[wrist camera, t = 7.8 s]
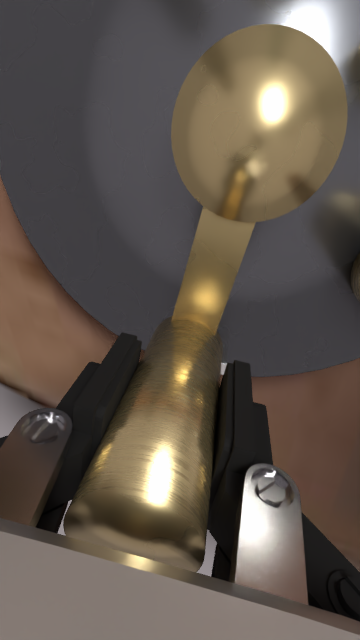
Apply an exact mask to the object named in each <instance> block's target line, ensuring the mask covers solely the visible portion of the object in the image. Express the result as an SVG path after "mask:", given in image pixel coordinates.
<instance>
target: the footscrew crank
mask: <svg viewBox="0 0 360 640" xmlns="http://www.w3.org/2000/svg"><path fill="white" fill-rule="evenodd" d="M346 127H347V98H346V91H345V87H344V83H343V80H342V77H341V75H340V72H339V70H338V68H337V66H336V64H335V63H334V61H333V59H332V58H331V56H330V55H329V54H328V52H327V51H326V50H325V49H324V48H323V46H321V45H320V44H319V43H318V42H317V41H316V40H314V39H313V38H312V37H310V36H309V35H307V34H305V33H304V32H302V31H299V30H297V29H294V28H291V27H288V26H283V25H278V24H262V25H255V26H250V27H246V28H243V29H240V30H237V31H235V32H233V33H231V34H229V35H227V36H225V37H224V38H222V39H221V40H219V41H218V42H216V43H215V44H214V45H213V46H212V47H210V48H209V49H208V50H207V51H206V52H205V53H204V54H203V55H202V56H201V57H200V58H199V60H198V61H197V62H196V63H195V65H194V66H193V67H192V69H191V70H190V72H189V73H188V75H187V77H186V79H185V81H184V82H183V84H182V86H181V89H180V91H179V94H178V97H177V100H176V103H175V107H174V111H173V117H172V125H171V142H172V151H173V156H174V161H175V164H176V167H177V170H178V173H179V175H180V177H181V179H182V181H183V183H184V185H185V186H186V188H187V189H188V191H189V192H190V193H191V194H192V196H193V197H194V198H195V199H196V200H197V201H198V202H199V203H200V204H201V205H202V206H203V209H202V213H201V216H200V220H199V223H198V227H197V230H196V234H195V238H194V241H193V245H192V248H191V252H190V255H189V259H188V262H187V266H186V270H185V273H184V277H183V280H182V284H181V287H180V291H179V295H178V298H177V302H176V305H175V309H174V312H173V316H171V317H169V318H167V319H165V320H164V321H162V322H161V323H160V324H159V325H158V326H157V328H156V329H155V331H154V333H153V335H152V338H151V340H150V342H149V344H148V346H147V348H146V350H145V352H144V354H143V356H142V358H141V360H140V362H139V364H138V366H137V368H136V370H135V372H134V374H133V377H132V379H131V381H130V383H129V385H128V387H127V389H126V391H125V393H124V395H123V397H122V399H121V401H120V403H119V405H118V407H117V409H116V412H115V414H114V416H113V418H112V420H111V422H110V424H109V426H108V428H107V430H106V432H105V434H104V436H103V438H102V440H101V442H100V444H99V446H98V448H97V450H96V452H95V455H94V457H93V459H92V461H91V463H90V465H89V467H88V469H87V471H86V473H85V475H84V477H83V479H82V481H81V483H80V485H79V487H78V489H77V491H76V494H75V496H74V498H73V500H72V502H71V504H70V506H69V508H68V510H67V512H66V514H65V517H64V524H63V526H64V532H65V534H66V536H68V537H71V538H75V539H78V540H82V541H86V542H89V543H93V544H96V545H100V546H103V547H107V548H111V549H114V550H118V551H121V552H125V553H129V554H132V555H136V556H139V557H143V558H146V559H150V560H153V561H157V562H161V563H164V564H168V565H171V566H175V567H178V568H182V569H185V570H189V571H192V572H197V571H198V570H199V569H200V567H201V566H202V564H203V561H204V555H205V545H206V534H207V523H208V512H209V500H210V489H211V477H212V466H213V455H214V443H215V432H216V420H217V409H218V398H219V386H220V375H221V363H222V352H223V344H222V340H221V337H220V335H219V333H218V331H217V328H218V325H219V323H220V320H221V317H222V314H223V312H224V309H225V306H226V303H227V301H228V298H229V295H230V292H231V290H232V287H233V284H234V281H235V278H236V276H237V273H238V270H239V267H240V265H241V262H242V259H243V256H244V254H245V251H246V248H247V245H248V242H249V240H250V237H251V234H252V231H253V229H254V226H255V223H256V222H261V221H266V220H270V219H274V218H277V217H280V216H282V215H284V214H286V213H289V212H290V211H292V210H294V209H295V208H297V207H299V206H300V205H301V204H303V203H304V202H305V201H307V200H308V199H309V198H310V197H311V196H312V195H313V194H314V193H315V192H316V191H317V190H318V189H319V188H320V186H321V185H322V184H323V183H324V182H325V180H326V179H327V177H328V176H329V174H330V173H331V171H332V169H333V167H334V165H335V163H336V161H337V159H338V157H339V154H340V151H341V149H342V146H343V142H344V138H345V134H346Z"/></svg>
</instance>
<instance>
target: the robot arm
mask: <svg viewBox="0 0 360 640" xmlns="http://www.w3.org/2000/svg"><path fill="white" fill-rule="evenodd" d="M141 345H142V341H139V340H137V336H135V335H131V334H127V333H123V332H122V333H121V334H120V336H119V337H118V339H117V340H116V342H115V343H114V345H113V346H112V348H111V349H110V351H109V352H108V354H107V355H106V357H105V358H104V360H103V361H102V363H101V364H99V363H95V362H89V363H88V364H87V366H86V367H85V368H84V370H83V371H82V373H81V374H80V375H79V377H78V378H77V380H76V381H75V382H74V384H73V385H72V386H71V388H70V389H69V391H68V392H67V393H66V395H65V396H64V397H63V399H62V400H61V402H60V403H59V404H58V406H57V407H56V409H55V408H43V409H37V410H34V411H32V412H29V413H28V414H26V415H24V416H23V417H22V418H21V419H20V420H19V421H18V422H17V424H16V425H15V427H14V428H13V430H12V431H11V433H10V434H9V435H8V436H5V437H2V438H0V640H360V572H359V571H358V570H357V569H356V568H355V567H354V566H353V565H352V564H351V563H350V562H349V561H348V560H347V559H346V558H345V557H344V556H343V555H342V554H341V553H340V552H339V551H338V549H337V548H336V547H335V546H334V545H333V544H332V543H331V542H330V541H329V540H328V539H327V538H326V537H325V536H324V535H323V534H322V533H321V532H320V531H319V530H318V529H317V528H316V527H315V526H314V525H313V523H312V522H311V521H310V520H309V519H308V518H307V517H306V516H305V515H304V514H303V513H302V512H301V501H300V494H299V490H298V488H297V486H296V484H295V482H294V481H293V480H292V479H291V477H290V476H289V475H288V474H287V473H285V472H284V471H283V470H281V469H280V468H278V467H275V466H273V460H272V452H271V444H270V435H269V427H268V418H267V410H266V406H265V405H262V404H258V403H254V402H253V398H252V383H251V368H250V363H246V362H242V361H238V360H234V362H233V363H229V362H228V363H227V365H226V369H225V372H224V375H223V378H222V381H221V385H220V388H219V398H218V409H217V420H216V432H215V443H214V455H213V466H212V477H211V489H210V500H209V512H208V523H207V529H208V530H210V533H211V535H212V536H213V537H214V539H215V540H216V542H217V545H216V550H215V556H214V562H213V569H212V575H211V577H210V576H206V575H203V574H199V573H196V572H192V571H189V570H185V569H182V568H178V567H175V566H171V565H168V564H164V563H161V562H157V561H153V560H150V559H146V558H143V557H139V556H136V555H132V554H129V553H125V552H121V551H118V550H114V549H111V548H107V547H103V546H100V545H96V544H93V543H89V542H86V541H82V540H78V539H75V538H71V537H68V536H64V535H60V534H57V533H58V530H59V527H60V524H61V521H62V519H63V516H64V513H65V511H66V508H67V504H68V501H70V500H72V499H73V498H74V496H75V494H76V491H77V489H78V487H79V485H80V483H81V481H82V479H83V477H84V475H85V473H86V471H87V469H88V467H89V465H90V463H91V461H92V459H93V457H94V455H95V452H96V450H97V448H98V446H99V444H100V442H101V440H102V438H103V436H104V434H105V432H106V430H107V428H108V426H109V424H110V422H111V420H112V418H113V416H114V414H115V412H116V409H117V407H118V405H119V403H120V401H121V399H122V397H123V395H124V393H125V391H126V389H127V387H128V385H129V383H130V381H131V379H132V377H133V374H134V372H135V370H136V368H137V366H138V364H139V358H140V352H141Z"/></svg>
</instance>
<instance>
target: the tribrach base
mask: <svg viewBox="0 0 360 640" xmlns="http://www.w3.org/2000/svg"><path fill="white" fill-rule="evenodd" d="M262 24H278V25H283V26H288V27H291V28H294V29H297V30H299V31H302V32H304V33H305V34H307V35H309V36H310V37H312V38H313V39H314V40H316V41H317V42H318V43H319V44H320V45H321V46H323V48H324V49H325V50H326V51H327V52H328V54H329V55H330V56H331V58H332V59H333V61H334V63H335V64H336V66H337V68H338V70H339V72H340V75H341V77H342V80H343V83H344V87H345V91H346V98H347V127H346V134H345V138H344V142H343V146H342V149H341V151H340V154H339V157H338V159H337V161H336V163H335V165H334V167H333V169H332V171H331V173H330V174H329V176H328V177H327V179H326V180H325V182H324V183H323V184H322V185H321V186H320V188H319V189H318V190H317V191H316V192H315V193H314V194H313V195H312V196H311V197H310V198H309V199H308V200H307V201H305V202H304V203H303V204H301V205H300V206H299V207H297V208H295V209H294V210H292V211H290V212H289V213H286V214H284V215H282V216H280V217H277V218H274V219H270V220H266V221H261V222H256V223H255V226H254V229H253V231H252V234H251V237H250V240H249V242H248V245H247V248H246V251H245V254H244V256H243V259H242V262H241V265H240V267H239V270H238V273H237V276H236V278H235V281H234V284H233V287H232V290H231V292H230V295H229V298H228V301H227V303H226V306H225V309H224V312H223V314H222V317H221V320H220V323H219V325H218V328H217V331H218V333H219V335H220V337H221V340H222V344H223V352H222V363H221V374H222V375H224V372H225V369H226V365H227V363H228V362H229V363H233V362H234V360H238V361H242V362H246V363H250V368H251V376H252V377H267V376H281V375H293V374H298V373H304V372H310V371H315V370H321V369H324V368H328V367H331V366H335V365H338V364H342V363H345V362H349V361H352V360H355V359H357V358H360V0H0V175H1V178H2V181H3V184H4V186H5V189H6V191H7V194H8V196H9V199H10V201H11V204H12V206H13V209H14V211H15V214H16V216H17V217H18V219H19V221H20V223H21V225H22V227H23V229H24V231H25V233H26V235H27V237H28V239H29V241H30V242H31V244H32V245H33V247H34V249H35V250H36V252H37V253H38V255H39V256H40V258H41V259H42V261H43V262H44V264H45V265H46V267H47V268H48V270H49V271H50V272H51V273H52V275H53V276H54V277H55V278H56V279H57V281H58V282H59V283H60V284H61V286H62V287H63V288H64V289H65V290H66V292H67V293H68V294H69V295H70V296H71V297H72V298H73V299H74V300H75V301H76V302H77V303H78V304H79V305H80V306H81V307H82V308H83V309H84V310H85V311H86V312H88V313H89V314H90V315H91V316H93V317H94V318H95V319H96V320H98V321H99V322H100V323H101V324H103V325H104V326H105V327H106V328H107V329H109V330H110V331H112V332H113V333H115V334H117V335H118V336H120V334H121V333H122V332H123V333H127V334H131V335H135V336H137V340H139V341H142V345H141V349H142V350H144V351H145V350H146V348H147V346H148V344H149V342H150V340H151V338H152V335H153V333H154V331H155V329H156V328H157V326H158V325H159V324H160V323H161V322H162V321H164V320H165V319H167V318H169V317H171V316H173V312H174V309H175V305H176V302H177V298H178V295H179V291H180V287H181V284H182V280H183V277H184V273H185V270H186V266H187V262H188V259H189V255H190V252H191V248H192V245H193V241H194V238H195V234H196V230H197V227H198V223H199V220H200V216H201V213H202V209H203V206H202V205H201V204H200V203H199V202H198V201H197V200H196V199H195V198H194V197H193V196H192V194H191V193H190V192H189V191H188V189H187V188H186V186H185V185H184V183H183V181H182V179H181V177H180V175H179V173H178V170H177V167H176V164H175V161H174V156H173V151H172V142H171V125H172V117H173V111H174V107H175V103H176V100H177V97H178V94H179V91H180V89H181V86H182V84H183V82H184V81H185V79H186V77H187V75H188V73H189V72H190V70H191V69H192V67H193V66H194V65H195V63H196V62H197V61H198V60H199V58H200V57H201V56H202V55H203V54H204V53H205V52H206V51H207V50H208V49H209V48H210V47H212V46H213V45H214V44H215V43H216V42H218V41H219V40H221V39H222V38H224V37H225V36H227V35H229V34H231V33H233V32H235V31H237V30H240V29H243V28H246V27H250V26H255V25H262Z"/></svg>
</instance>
